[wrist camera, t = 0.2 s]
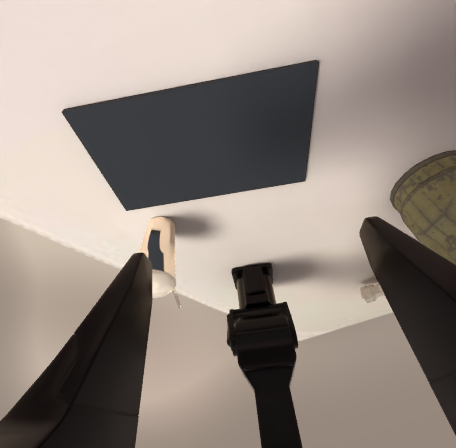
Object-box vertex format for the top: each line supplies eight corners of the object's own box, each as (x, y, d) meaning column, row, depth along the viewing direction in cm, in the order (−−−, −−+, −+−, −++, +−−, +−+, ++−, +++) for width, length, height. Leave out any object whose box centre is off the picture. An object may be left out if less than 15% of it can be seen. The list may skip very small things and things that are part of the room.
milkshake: (177, 242, 32) (170, 315, 26) (137, 230, 30) (119, 307, 23) (192, 222, 30) (190, 298, 23) (150, 207, 27) (133, 286, 20)
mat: (303, 177, 26) (305, 181, 25) (127, 207, 27) (126, 211, 27) (316, 59, 18) (319, 61, 17) (63, 108, 19) (60, 111, 19)
